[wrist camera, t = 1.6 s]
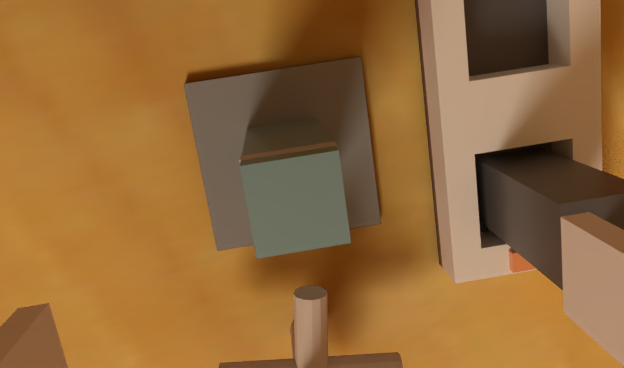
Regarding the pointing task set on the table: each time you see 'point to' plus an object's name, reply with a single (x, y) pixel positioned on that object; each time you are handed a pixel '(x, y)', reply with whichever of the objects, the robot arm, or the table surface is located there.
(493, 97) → the power strip
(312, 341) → the pipe connector
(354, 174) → the pad
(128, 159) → the table surface
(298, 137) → the plug
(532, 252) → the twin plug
